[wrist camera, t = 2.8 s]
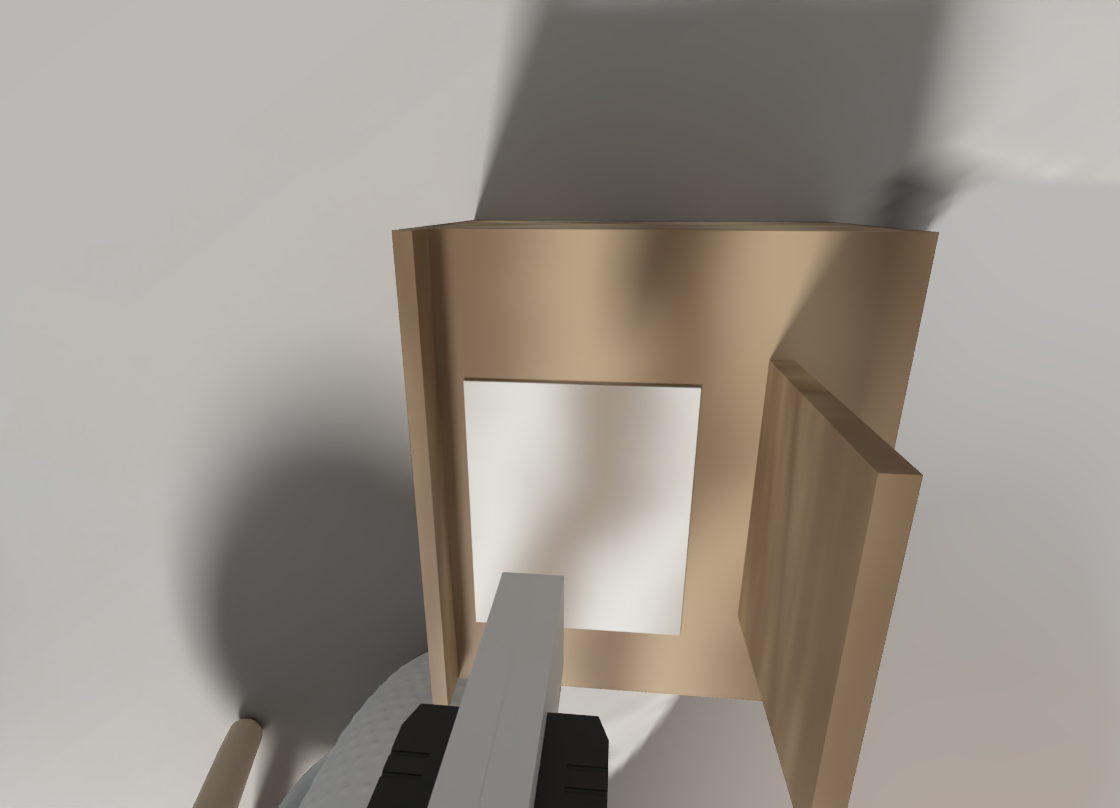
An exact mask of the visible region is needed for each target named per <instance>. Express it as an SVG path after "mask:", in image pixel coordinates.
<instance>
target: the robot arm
mask: <svg viewBox="0 0 1120 808" xmlns="http://www.w3.org/2000/svg"><path fill="white" fill-rule="evenodd" d="M563 666H564V576H561V575H545V574H528V573H512V572H502V576H501V579H500V582H499V585H498V588H497V591H496V594H495V597H494V601H493V604H492V607H491V610H490V613H489V616H488V619H487V623H486V626H485V629H484V632H483V635H482V638H481V641H480V644H479V648H478V651H477V654H476V657H475V660H474V663H473V666H472V669H471V673H470V676H469V679H468V682H467V685H466V688H465V691H464V694H463V698H462V701H461V704H460V707H459V706H447V705H435V704H423V703H421V704H420V705H419V706H418V707H417V708H416V709H415V710H414V712H413V713H412V714H411V715H410V716H409V717H408V718H407V719H406V720H405V721H404V722H403V724H402V725H401V727H400V730H399V732H398V734H397V737H396V739H395V742H394V744H393V746H392V749H391V754H390V755H389V756H388V758H387V761H386V763H385V765H384V768H383V770H382V775H381V777H379V780H378V782H377V785H376V787H375V789H374V792H373V794H372V796H371V799H370V801H369V804H368V806H367V808H607V791H608V790H607V789H608V748H609V740H608V738H607V736H606V733H605V731H604V728H603V726H602V724H601V721H600V719H599V717H598V716H587V715H575V714H563V713H558V707H559V699H560V691H561V683H562V674H563Z"/></svg>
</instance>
